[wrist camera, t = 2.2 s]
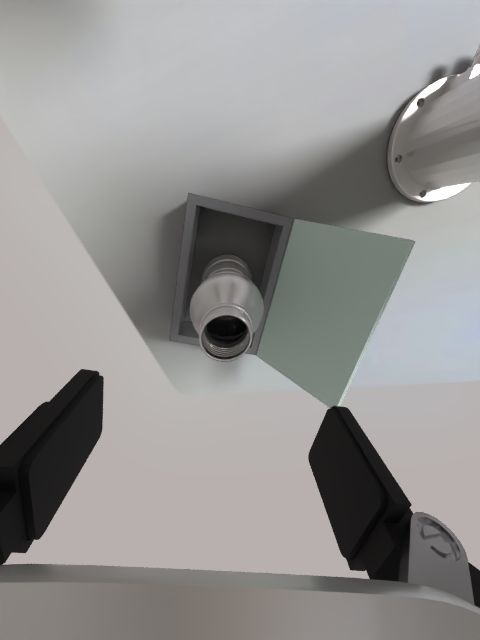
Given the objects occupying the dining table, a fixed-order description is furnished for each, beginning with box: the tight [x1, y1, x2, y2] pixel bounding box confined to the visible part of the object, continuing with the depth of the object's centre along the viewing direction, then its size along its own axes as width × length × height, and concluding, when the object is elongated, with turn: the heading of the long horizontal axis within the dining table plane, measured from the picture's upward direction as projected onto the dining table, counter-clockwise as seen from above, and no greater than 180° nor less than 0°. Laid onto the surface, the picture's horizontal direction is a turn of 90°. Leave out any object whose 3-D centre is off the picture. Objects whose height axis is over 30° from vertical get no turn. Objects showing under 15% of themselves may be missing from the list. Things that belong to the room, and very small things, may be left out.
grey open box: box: [169, 193, 294, 355], centre depth 33 cm, size 18×12×5 cm, turn 168°
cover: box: [257, 219, 415, 408], centre depth 28 cm, size 18×12×1 cm
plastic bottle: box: [190, 255, 264, 361], centre depth 26 cm, size 6×7×20 cm
